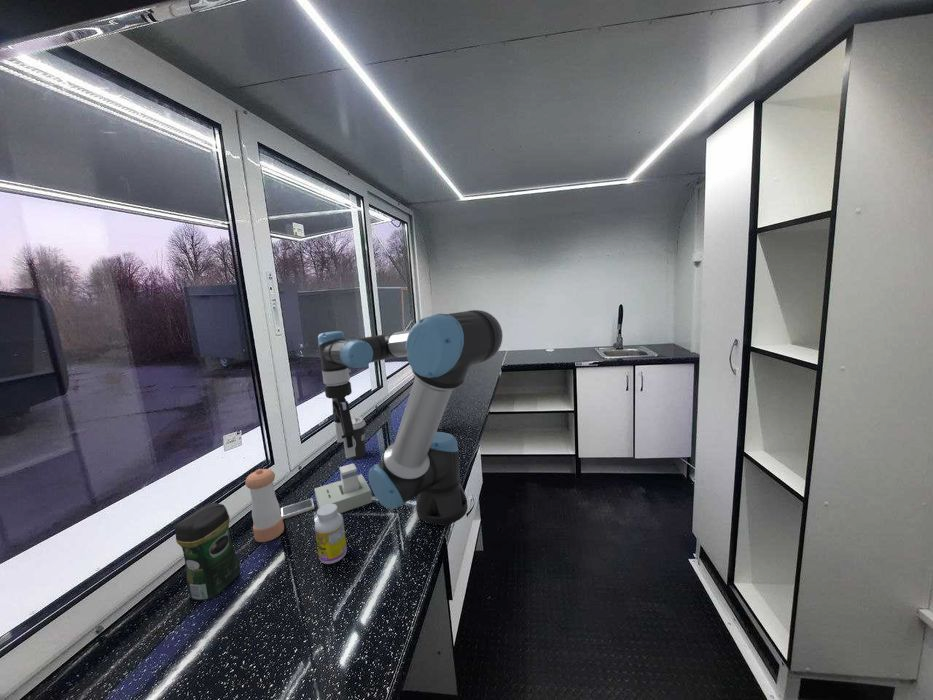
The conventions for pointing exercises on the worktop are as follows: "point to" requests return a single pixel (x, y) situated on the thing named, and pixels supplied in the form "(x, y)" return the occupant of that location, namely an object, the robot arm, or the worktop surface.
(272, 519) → the pepper shaker
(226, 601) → the worktop surface
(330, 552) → the supplement bottle
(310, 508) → the phone
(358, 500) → the outlet plate
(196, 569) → the coffee jar
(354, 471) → the block
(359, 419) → the coffee cup
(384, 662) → the worktop surface
